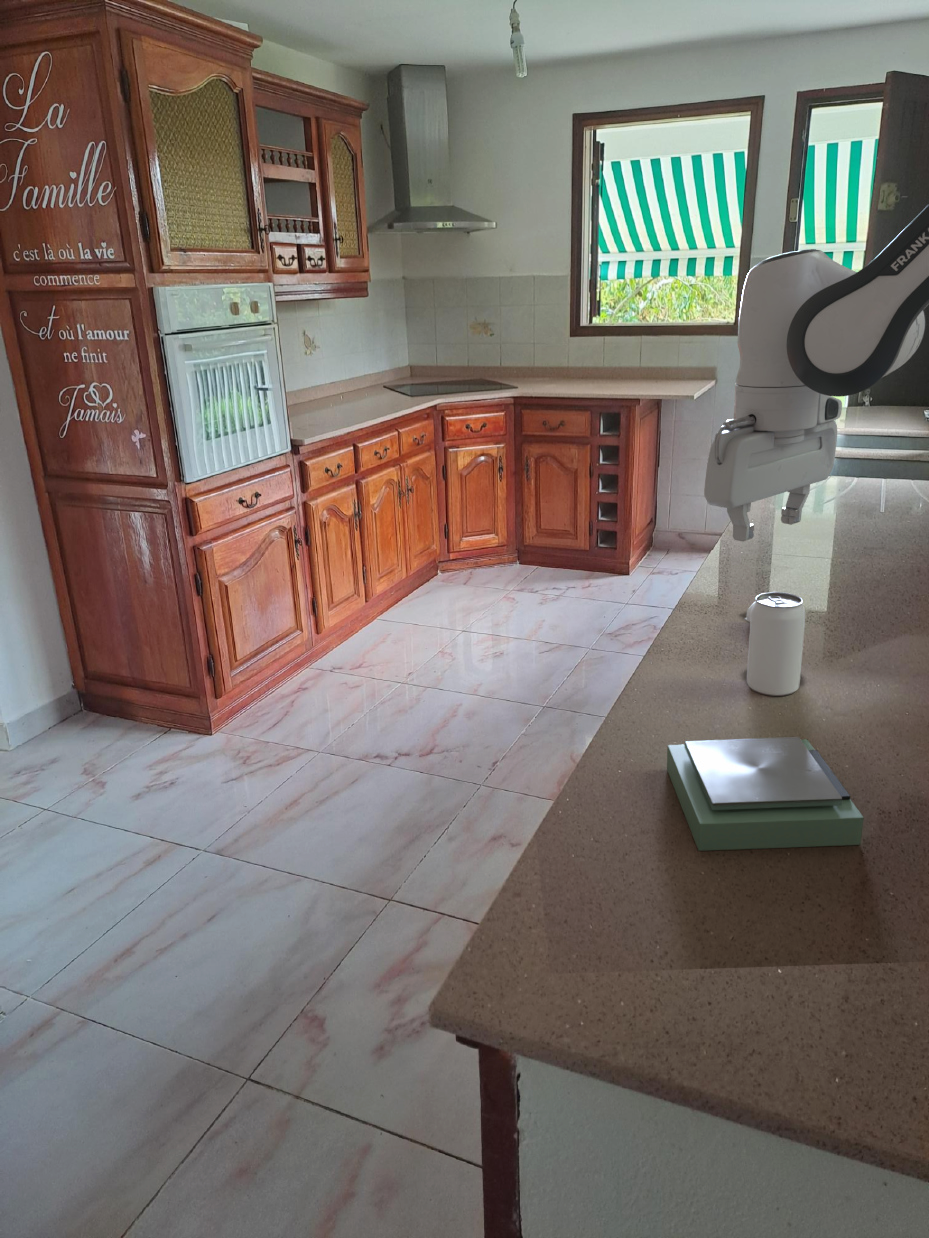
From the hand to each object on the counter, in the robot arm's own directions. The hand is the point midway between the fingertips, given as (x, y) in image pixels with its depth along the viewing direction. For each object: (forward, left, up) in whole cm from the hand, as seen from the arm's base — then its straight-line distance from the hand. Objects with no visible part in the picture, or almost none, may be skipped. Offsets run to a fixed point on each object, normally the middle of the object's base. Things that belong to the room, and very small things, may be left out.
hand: (767, 531), depth 102 cm
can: (-3, -4, -22) cm, 23 cm away
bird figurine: (-8, -23, -22) cm, 34 cm away
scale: (+7, +23, -22) cm, 32 cm away
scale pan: (+7, +23, -19) cm, 30 cm away
